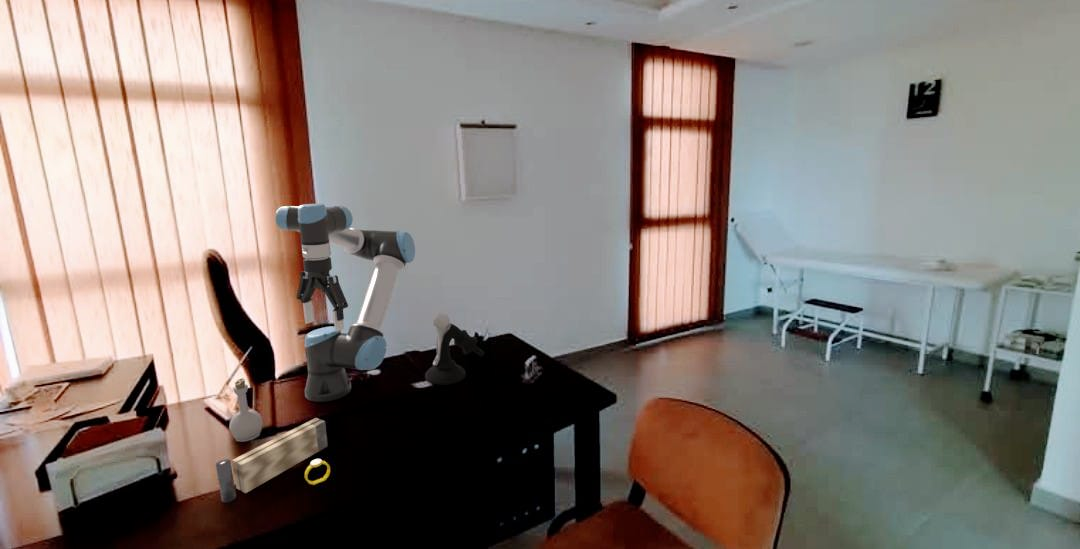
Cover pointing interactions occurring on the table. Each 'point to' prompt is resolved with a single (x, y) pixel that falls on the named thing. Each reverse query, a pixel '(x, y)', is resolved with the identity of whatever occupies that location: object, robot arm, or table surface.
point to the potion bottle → (244, 417)
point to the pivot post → (225, 480)
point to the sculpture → (444, 366)
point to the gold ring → (315, 464)
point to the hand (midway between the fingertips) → (324, 326)
